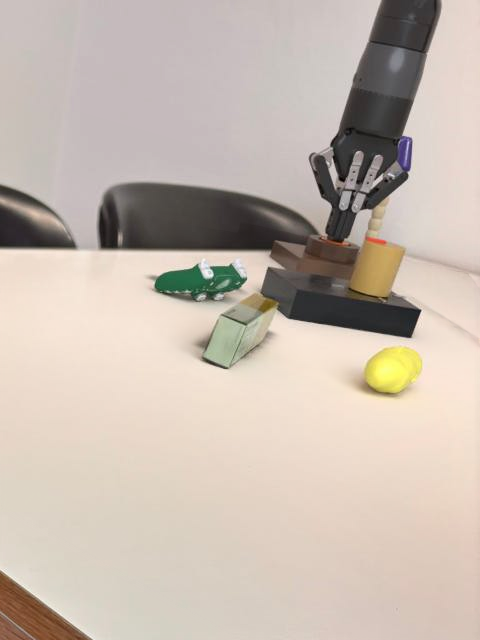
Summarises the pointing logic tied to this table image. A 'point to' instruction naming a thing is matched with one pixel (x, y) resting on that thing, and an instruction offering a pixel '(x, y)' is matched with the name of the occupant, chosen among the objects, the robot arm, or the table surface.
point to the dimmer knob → (377, 267)
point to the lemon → (393, 369)
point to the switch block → (317, 257)
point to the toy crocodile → (203, 280)
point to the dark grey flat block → (338, 303)
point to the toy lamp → (380, 209)
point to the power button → (334, 242)
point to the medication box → (239, 330)
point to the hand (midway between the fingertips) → (334, 240)
